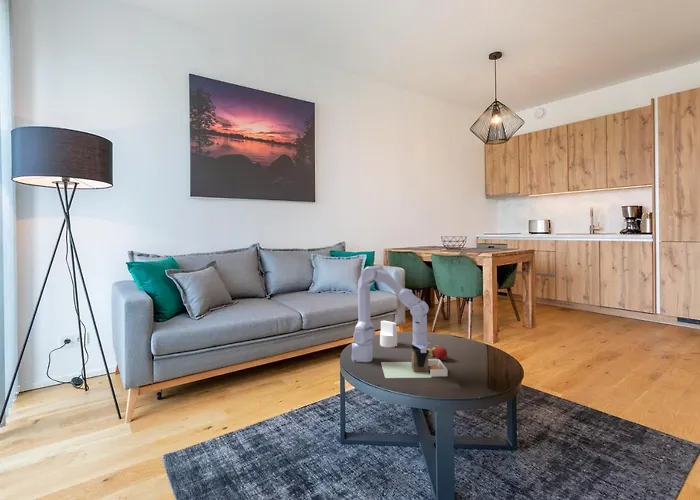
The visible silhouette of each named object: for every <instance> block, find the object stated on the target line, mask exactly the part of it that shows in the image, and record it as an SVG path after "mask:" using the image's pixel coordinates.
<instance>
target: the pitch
mask: <svg viewBox="0 0 700 500" xmlns="http://www.w3.org/2000/svg"><path fill="white" fill-rule="evenodd" d="M380 363H381V368H382V371H383V375H384V378H385V379H407V378H408V379H411V378H412V379H417V378H418V379H421V378H422V379H423V378H427V379H428V378H432V377H448V376H449V375H448V368H447V367H446V366H445V364H443V362H442V360H439V359H438V358H432V359H430V358H428V365H429V367H431V366H432V365H433V364H436V365H438V366H439V367H440V369H430V368H429V371H430V372H429V371H416V372H414V371H413V369H412V361H389V362H388V361H385V362H383V361H381V362H380Z"/></svg>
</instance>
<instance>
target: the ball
mask: <svg viewBox="0 0 700 500" xmlns="http://www.w3.org/2000/svg"><path fill="white" fill-rule="evenodd" d="M429 367H430V368H429V370H430V369H440V367H439V366H438V365H436V364H433V365H432V366H429Z"/></svg>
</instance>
